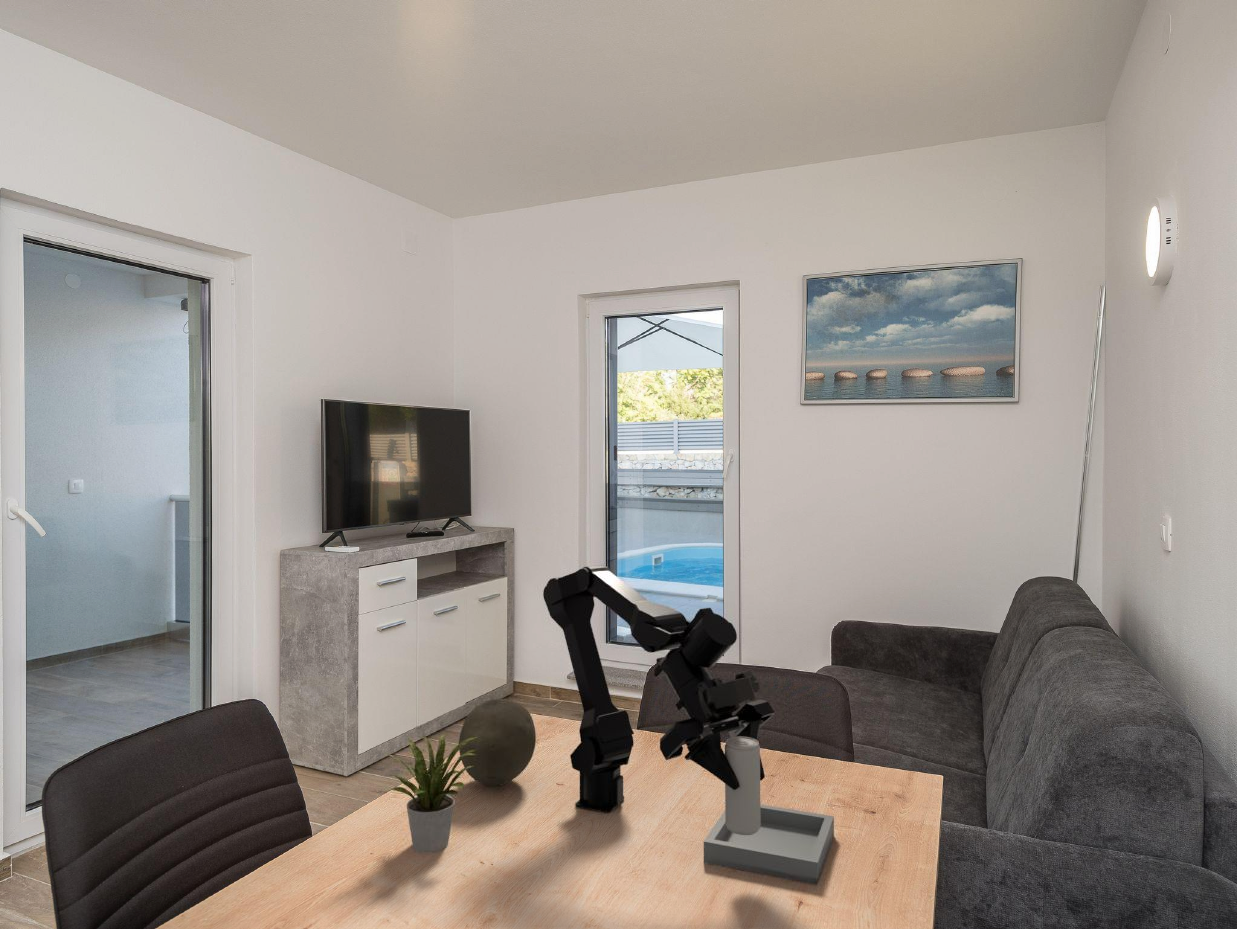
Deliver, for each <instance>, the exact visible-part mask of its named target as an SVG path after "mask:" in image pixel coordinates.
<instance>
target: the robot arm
mask: <svg viewBox="0 0 1237 929" xmlns="http://www.w3.org/2000/svg"><path fill="white" fill-rule="evenodd" d="M542 591H543V594H542V595H543V600H544V603H545V605H546V608H547V610H548V613H549V616H550V618H551V619H552V620H553V621H554V622H555V623H556V624H557V625H558V626H559V628H561V630H562V631H563V634H564V638H565V643H566V648H567V650H568V655H569V658H570V659H569V660H570V662H571V666H572V670H573V675H574V677H575V681H576V682H575V683H576V686H577V690H578V693H579V694H578V695H579V697H580V701H581V705H582V709H583V714H582V717H581V718H582V719H581V722H580V725H579V729H578V730H579V737H580V743H579V744H578V745H577V746H576V748H575V749H573V751H572V752H571V754H570V755H569V757H570V763H571V768H572V769H573V770H576V771H578V772H579V799H578V801H576V802H575V804H574V806H575V807H576V808H580V809H587V810H592V811H597V812H603V813H611V812H613V811H614V810H615V809H616V808H617V807H618V806H619V805H620V804H621V803H622V802H623V801H624V800H625V796H624V776H623V775H621V769H622V768H621V766H626V765H628V764H629V760H630V757H631V753H632V749H633V747H634V745H635V744H634V736H633V735H634V734H635V731H634V730H633V728H632V727H631V726H632V725H631V721H630V716H629V714H628V712H627V711H626V709H623V710H620V709H618V707H617V706H615V704H614V703H613V702H612V698H611V694H610V690H609V687H608V682H607V679H606V676H605V671H604V667H603V664H602V661H601V656H600V654H599V649H598V645H597V643H596V638H595V634H594V631H593V626H592V623H591V621H592V616H593V613H594V609H595V599H594V598H596V599H598V600H599V601H600V602H601V603H602V604H604V606H606V607H607V608H608V609H609V610H611V611H612V612H613V613H615V615H617V616H619V617H620V619H622V620H624V622H626V623H627V625H628V626H629V628H630V634H631V636H632V638H633V639H634V641H636V643H638V645H639V646H640V647H641V648H642V649H643V650H644V652H647V653H658V652H663V651H668V650H669V651H668V653H666V655H664V657H663V656H662V657H658V658H656V659H655V660H656V665H655V667H654V670H653V675H654V677H655V678H659V677H662V676H663V677H664V676H666V678H667V679H668V680H667V681H668V682H669V685H671V687H672V689H673V690H674V692H675V694H676V696H677V698H678V701H677V703H675V706H676V708H677V710H678V711H683V710H685V713H686V714H687V716H688V717H689V718H688V719H687V718H686V719H684V720H680V721H676V722H674V724H673V725H672V726H671V727H670V728H669V729H668V730H667V731H666V732H665V733H664V734H663V736H662V737H661V738H660V739H659V750H660V752H661V753H662V756H663V758H664V759H665V760H666V761H669V760H671V759H675V758H679V757H681V756H682V754H683V751H684V747H683V746H684V745H686V749H687V751H688V753H686V754H685V756H684V759H685V760H686V761H691V762H693V763H695V764H696V765H698V766H700V767H702V768H703V769H704V770H706V771H708V772H709V773H710V774H712V776H715V777H716V778H717V779H718V780H720V781H721V782H722V783H724V785H725V784H726V785H728V786H729V787H730V788H732V789H733V790H737V789H738V788H739V787H740V784H739V782H738V780H737V777H736V775H735V773H734V771H733V769H732V767H731V765H730V763H729V762H728V760H727V758H726V756H725V751H724V750H723V748H722V740H721V734H725V733H728V734H729V735H730V738H731V737H739V736H742V737H750V738H753V739H756V740H757V741H758V733H759V730H760V728H762V727H763V726H764V725H765V724H766V723H767V722H768V721H769V720H770V719H771V718H772V717H774V715H775V714H776V712H775V711H774V709H773V707H772V706H771V704H770V703H769V701H768V700H764V699H757V697H756V696H757V695H756V693H758V692H760V691H759V690H760V683H759V681H758V679H757V678H756V676H755V675H754V674H753V672H752V671H751V670H747V671H742V672H740V673H737V674H736V673H735V679H733V680H730V681H727V682H723V680H722V679H721V678H719V677H716V678H713V677H712V676H711V674H710V672H709V671H708V668H709V669H710V668H712V667H714V666H715V665H716V664H717V663H718V661H719V660H720V659H721V658H723V656H724V655H725V654H726V653H727V652H728V651H729V649H730V648H731V647H732V646H733V645H734V644H735V643H736V642H737V639H738V635H737V630H736V628H735V626H734V625H733V623H732V622H729V621H728V620H727V619H726V618H725V617H723V616H722V615H720V614H717V613H715V612H714V611H713V610H712V607H704V608H699V609H698V611H697V612H696V613H695V616H694V618H692V620H688V619H687V618H686V617H685V615H684V614H683V613H682V612H680V611H678V610H676V609H674V608H672V607H669V606H668V605H664V604H660V603H655V602H652V601H651V600H648V599H647V598H646V597H644V596H643V595H641V594H640V593H639V592H637V591H636V590H635V589H634V588H632V587H631V586H629V584H627V583H626V582H624V581H623V580H622V579H620V578H619V577H618V576H616V574H614V573H613V572H612V571H611V569H610V568H609V567H608V566H606V565H603V564H602V565H601V564H600V565H591V566H584V567H582V568H580V569H578V570H576V571H575V572H572V573H569V574H567V575H564V576H561V577H560V576H559V577H553V578H550V579H549V580H548V581H547V583H546V585H545V586H544V589H543V590H542ZM756 699H757V700H756ZM747 701H750V702H747ZM743 702H747V703H745V704H744V706H742V707H741V706H740V704H742V703H743ZM740 707H741V708H740ZM739 708H740V709H739ZM737 710H738V711H737ZM733 712H736V713H735V714H734V715H733ZM758 742H759V741H758ZM763 765H764V764H763V762H762V757H761V756H760V782H761V781H763V780H764V779H765V777H766V774H765V771H764V766H763Z"/></svg>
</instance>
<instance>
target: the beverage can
mask: <svg viewBox="0 0 1237 929" xmlns="http://www.w3.org/2000/svg"><path fill="white" fill-rule="evenodd" d="M757 740H758V739H757ZM757 740H756V739H753V738H750V737H742V736H739V737H731V736H730V737H729V738H727V739H726V740H725V745H724V754H725V756H726V758H727V760H728V762H729V763H730V765H731V767H732V769H733V771H734V773H735V775H736V777H737V780H738V782H739V784H740V787H739V788H738V789H737V790H733V789H732V788H730V787H729V786H728V785H726V784H725V783H724V799H725V801H724V804H725V807H724V809H725V810H724V811H725V824H726V826H727V828H728V829H729V830H730V831H731V832H733V833H735V834H738V835H752V834H755V833H756V832H757V831H758V830H759V829H760V827H761V813H760V804H761V781H760V757H761V747H760V743H759V741H757Z"/></svg>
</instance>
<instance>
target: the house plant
mask: <svg viewBox="0 0 1237 929" xmlns="http://www.w3.org/2000/svg"><path fill="white" fill-rule="evenodd" d="M421 735H422V737H423V740H424V742H425V744H426V746H427V750H428V758H429V765H428V768H427V764H426V760H425V756H424V754H423V753H424V751H425V749H424V748H423V749H422V750H421V749H420V747H418V746H417V745H416V743H415V742H414V741H413V740H412V739H409V738H407V740H408V742H409V743H408V744H409V746H410V748H411V749H410V750H411V751H412V754H413V757H414V766H412V765H410V763H409V764H408V765H409V767H408V765H407V764H406V763H405V762H404V761H403V760H402V759H400V758H398V757H396V756H394V755H392V754H390V753H385V755H386V756H389V757H392V758H394V759H395V760H397V761H398V762H400V763H401V765H403V766H404V767H405V768H406V770H407V771H408V772H409V773H410V774H411V776H412V777H413V779H414V780H415V782H416V783H417V784H418V787H417V785H415V784H414V783H412V781H410V780H408V779H407V778H404V777H403V776H400V775H396V774H394V775H393V776H394V777H395V779H398V780H399V781H400V782H401V784H403V785H404V786H406V787H407V788H408V789H409V790H411V792H410V791H409V790H407V788H405V787H402V786H396V787H393V788H391V789H390V791H394V792H395V791H396V792H400V793H403V794H405V795H407V796H409V797H410V798H411V799H410V800H409V801H408V802H407V803H406V806H405V807H406V812H407V817H408V824H409V825H408V826H409V831H410V837H411V843H412V844H411V845H412V848H413V850H414V851H416V852H419V853H424V854H426V853H436V852H439V851H442V850H444V849H445V848H447V847H448V845H449V840H450V834H451V828H452V822H453V817H454V816H453V815H454V812H455V810H454V809H455V803H456V801H455V798H454V797H452V796H450V795H455V796H457V797H460V795H459V793H458V791H457V790H455V789H451V788H452V787H453V788H454V787H456V788H459V789H461V791H464V786H465V784H464V783H463V782H462V781H458V782H456V781H457V779H459V777H460V776H461V775H462V774H463V775H465V773H464V772H466V769H468V768H470V767H472V766H468V767H465V768H462V769H460V770H456V768H457V766H458V765H459V764H460V763H461V762H462V759H463V758H464V757H465V756H466V755H477V754H472V753H470V752H473V751H475V750H471V751H468V752H466V753H464V754H463V755H461V756H460V755H459V756H458V757H457V759H456V761H455V762H453V763H452V764H451V762H452V761H453V759H454V757H455V756H456V754H457V753H458V752H459V750H460V749H461V748H462V747H463V746H464V745H465V744H466V743H467V742H468V741H470V740H472V739H475V738H476V737H473V738H469V739H466V740H464V741H463V742H461V743H460V744H459V743H458V744H457V745H456V746H455V748H454V749H453V750H451V752H450V754H449V755H448V756H446V757H444V755H445V753H446V751H449V750H448V749H446V740H445V739H446V738H445V737H446V735H445V733H444V732H443V733H442V734H441V736H440V737H439V742H438V745H437V751H436V755H434V750H433V746H432V744H431V743H430V740H428V738H427V737H426V735H424V734H423V732H421ZM446 759H447V760H446ZM445 760H446V762H445ZM450 764H451V765H450ZM449 765H450V766H449ZM453 775H454V777H452V776H453ZM451 777H452V779H451ZM450 779H451V781H450ZM449 781H450V782H449ZM448 782H449V784H448ZM447 784H448V785H447ZM412 793H413V794H414V795H413V794H412Z"/></svg>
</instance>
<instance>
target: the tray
mask: <svg viewBox="0 0 1237 929" xmlns="http://www.w3.org/2000/svg"><path fill="white" fill-rule="evenodd" d="M760 813H761V827H760V829H759V830H758V831H757V832H756V833H755V834H752V835H738V834H735V833H733V832H731V831H730V830H729V829H728V828H727V826H726V824H725V810H724V811H723V813H722V814H721V815H720V817H719V818H718V820H717V821H716V823H715V824H714V826H713V827H712V828H711V829H710V832H709V833H708V834H707V836H706V838H705V839H704V840H703V863H704V864H708V865H713V866H714V865H715V866H719V867H725V868H729V869H734V870H739V871H743V872H744V871H745V872H750V873H755V874H759V875H765V876H769V877H774V876H775V878H781V879H785V880H791V881H795V882H801V883H806V884H811V885H816V886H818V885H819V882H820V879H821V875H822V873H823V870H824V868H825V864H826V860H827V858H828V855H829V852H830V849H831V846H832V842H833V841H834V840H833V839H834V838H835V837H834V836H835V816H834V815H828V814H821V813H815V812H810V811H804V810H797V809H793V808H792V809H791V808H786V807H778V806H773V805H766V804H761V803H760Z"/></svg>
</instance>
